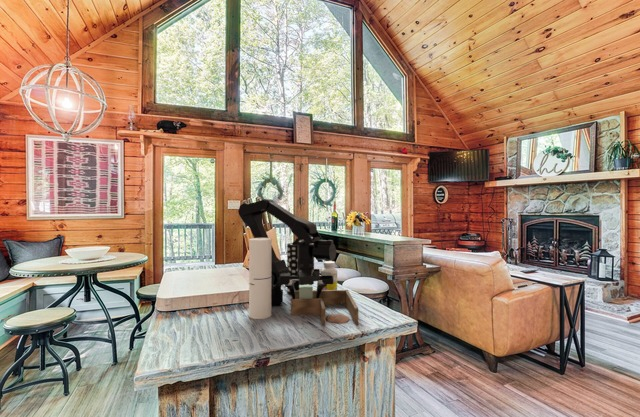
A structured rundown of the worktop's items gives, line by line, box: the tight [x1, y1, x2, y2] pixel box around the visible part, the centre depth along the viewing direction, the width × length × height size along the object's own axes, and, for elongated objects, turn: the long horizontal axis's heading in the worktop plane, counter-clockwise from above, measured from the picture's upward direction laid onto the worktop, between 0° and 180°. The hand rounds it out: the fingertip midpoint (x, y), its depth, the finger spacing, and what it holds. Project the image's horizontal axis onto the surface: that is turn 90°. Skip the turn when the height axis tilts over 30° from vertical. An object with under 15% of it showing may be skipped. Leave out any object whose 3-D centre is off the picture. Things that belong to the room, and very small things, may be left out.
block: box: [299, 284, 313, 299], centre depth 109 cm, size 4×4×8 cm
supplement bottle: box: [320, 260, 338, 290], centre depth 129 cm, size 7×7×13 cm
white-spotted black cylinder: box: [286, 242, 300, 296], centre depth 130 cm, size 8×8×20 cm
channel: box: [290, 289, 359, 326], centre depth 105 cm, size 20×20×5 cm
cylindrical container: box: [248, 237, 273, 320], centre depth 103 cm, size 7×7×25 cm
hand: (305, 303), depth 109 cm, fingers open, 7 cm apart
